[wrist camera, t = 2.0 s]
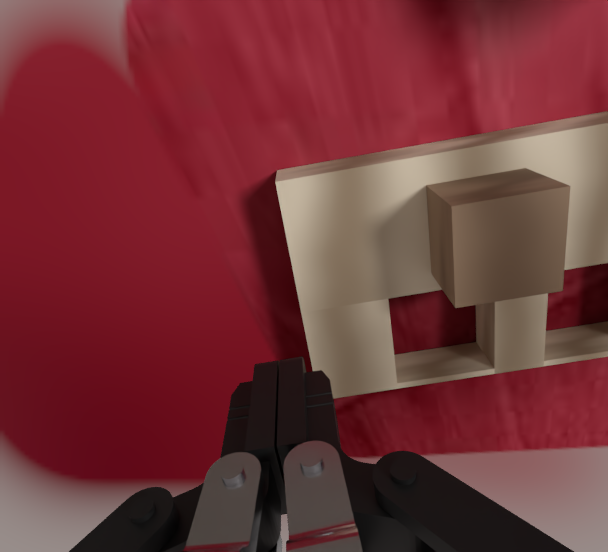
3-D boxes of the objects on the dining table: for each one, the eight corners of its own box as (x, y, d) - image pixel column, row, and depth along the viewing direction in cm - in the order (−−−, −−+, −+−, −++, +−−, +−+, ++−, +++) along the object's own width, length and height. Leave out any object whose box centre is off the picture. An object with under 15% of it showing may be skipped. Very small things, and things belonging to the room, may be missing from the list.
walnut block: (525, 168, 23) (570, 185, 19) (522, 258, 25) (562, 291, 21) (425, 185, 23) (451, 206, 19) (431, 273, 25) (455, 308, 21)
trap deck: (832, 71, 24) (976, 70, 19) (766, 301, 30) (863, 348, 24) (277, 170, 25) (273, 193, 20) (316, 371, 31) (321, 429, 26)
